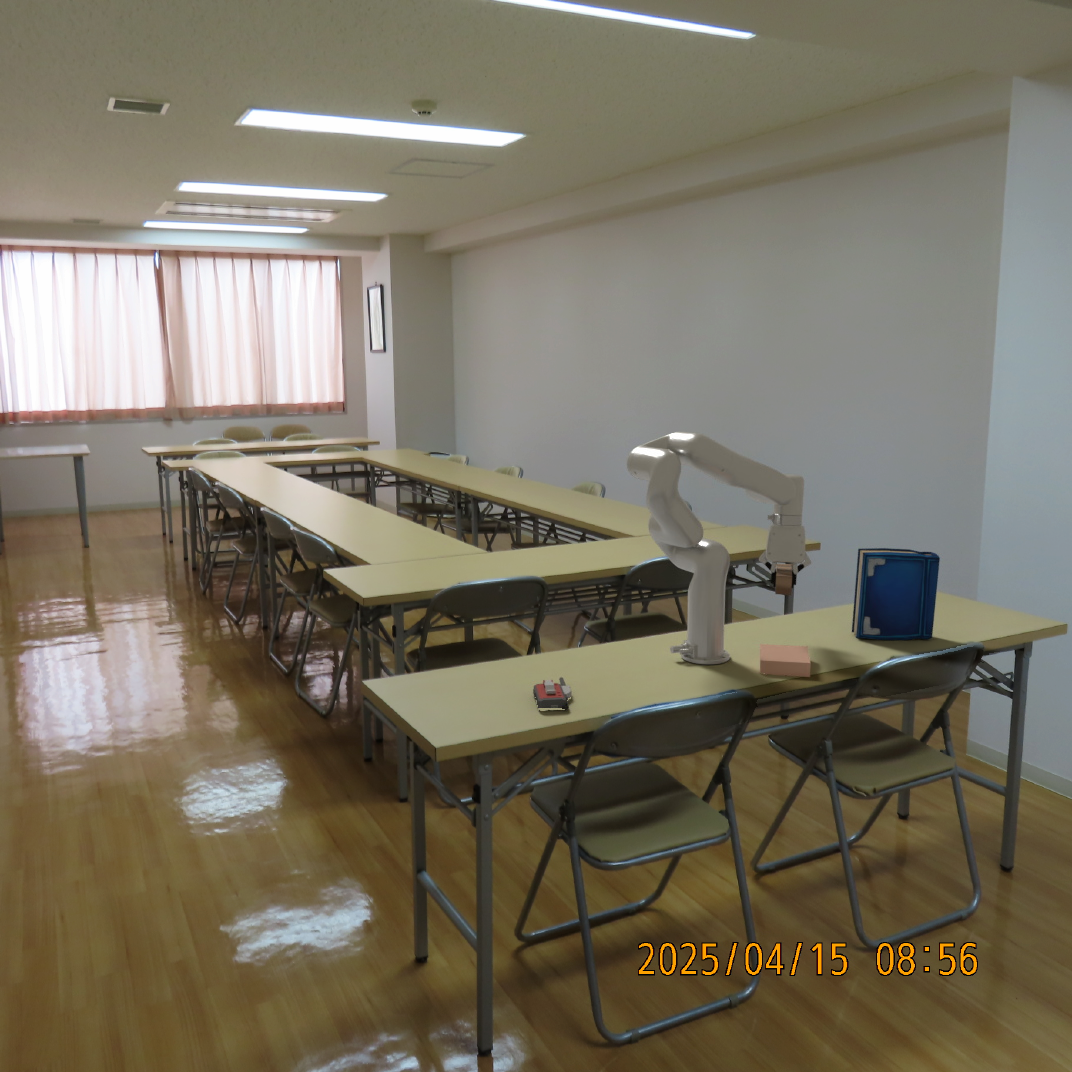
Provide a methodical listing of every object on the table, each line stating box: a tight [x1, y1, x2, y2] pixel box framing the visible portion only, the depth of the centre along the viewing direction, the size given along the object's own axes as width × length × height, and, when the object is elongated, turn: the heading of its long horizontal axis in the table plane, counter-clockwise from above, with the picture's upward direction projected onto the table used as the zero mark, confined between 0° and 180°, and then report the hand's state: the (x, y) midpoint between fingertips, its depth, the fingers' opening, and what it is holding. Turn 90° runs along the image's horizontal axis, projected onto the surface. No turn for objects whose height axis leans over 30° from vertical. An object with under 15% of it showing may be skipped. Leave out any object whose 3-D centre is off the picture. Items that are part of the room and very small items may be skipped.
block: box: [774, 563, 793, 596], centre depth 252 cm, size 18×4×5 cm, turn 165°
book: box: [851, 547, 941, 641], centre depth 257 cm, size 22×7×25 cm, turn 84°
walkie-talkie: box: [532, 676, 572, 710], centre depth 216 cm, size 9×4×20 cm
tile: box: [759, 643, 811, 678], centre depth 236 cm, size 4×12×14 cm
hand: (783, 586), depth 252 cm, fingers closed on block, 4 cm apart
